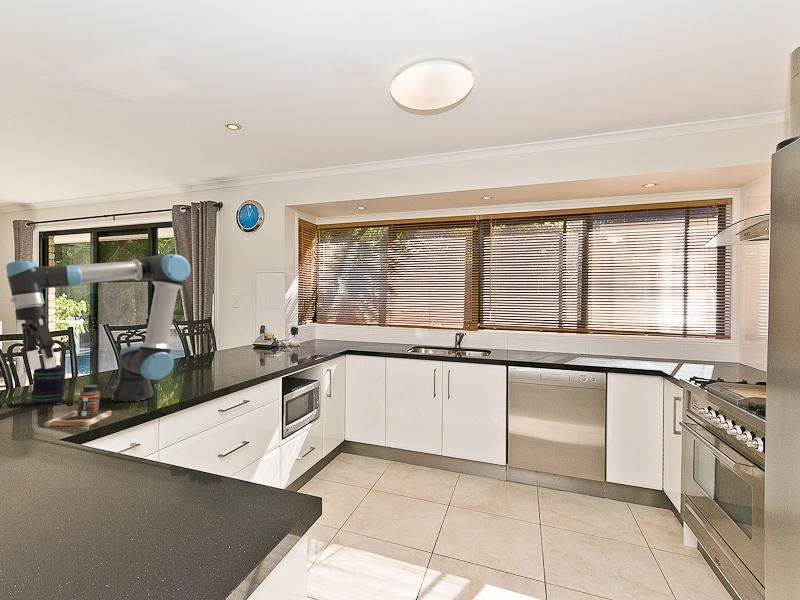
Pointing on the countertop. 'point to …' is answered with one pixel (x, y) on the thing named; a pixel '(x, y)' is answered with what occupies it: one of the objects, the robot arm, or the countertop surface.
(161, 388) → the countertop surface
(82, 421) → the guide channel
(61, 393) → the storage jar
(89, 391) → the supplement bottle
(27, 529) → the countertop surface
